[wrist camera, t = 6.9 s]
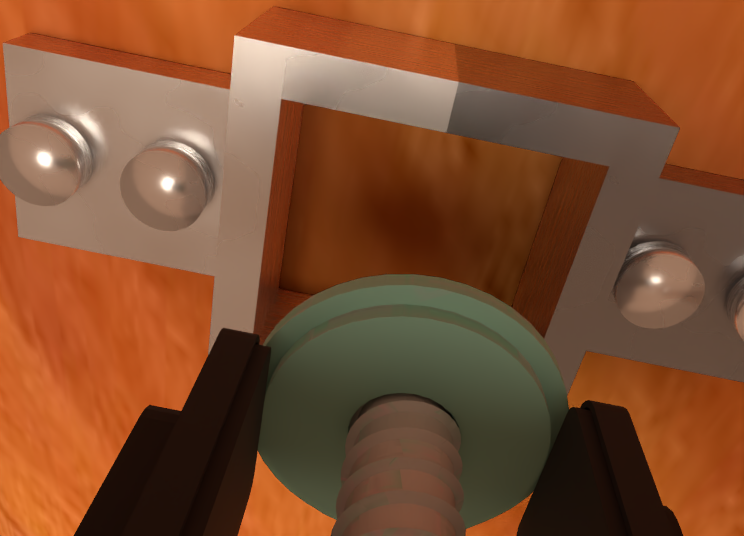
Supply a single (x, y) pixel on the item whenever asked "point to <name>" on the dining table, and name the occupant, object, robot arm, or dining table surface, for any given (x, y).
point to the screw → (409, 405)
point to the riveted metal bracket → (392, 103)
